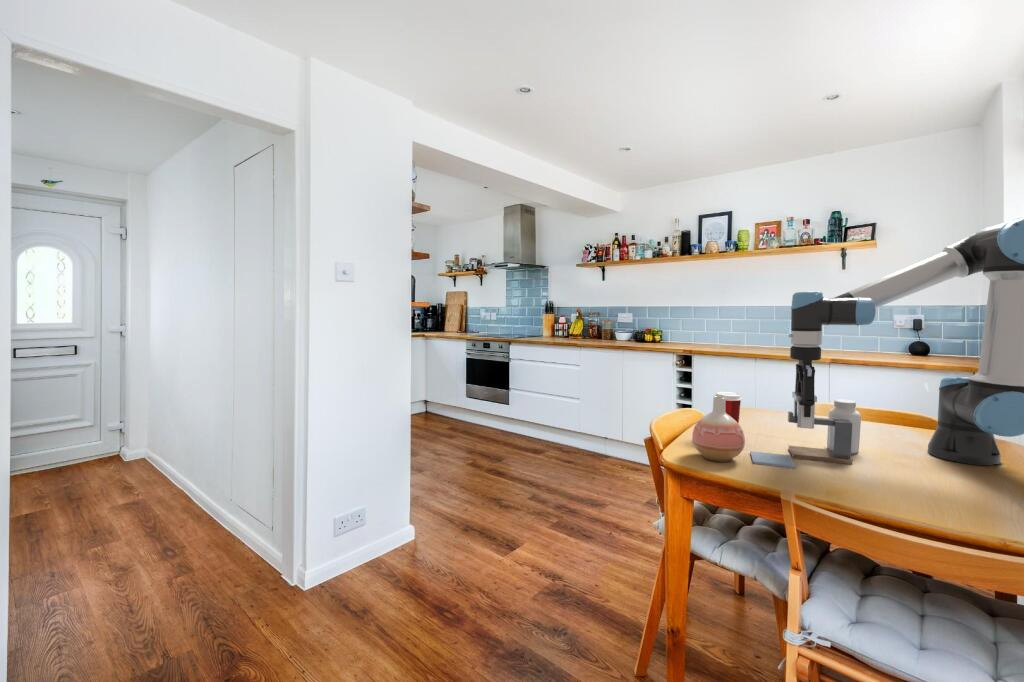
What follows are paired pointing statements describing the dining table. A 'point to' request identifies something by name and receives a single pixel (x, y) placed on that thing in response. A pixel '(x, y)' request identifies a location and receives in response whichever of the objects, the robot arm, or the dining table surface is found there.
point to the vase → (718, 434)
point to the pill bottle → (847, 411)
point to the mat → (772, 459)
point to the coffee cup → (731, 404)
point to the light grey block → (797, 407)
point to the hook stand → (838, 442)
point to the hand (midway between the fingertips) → (803, 424)
